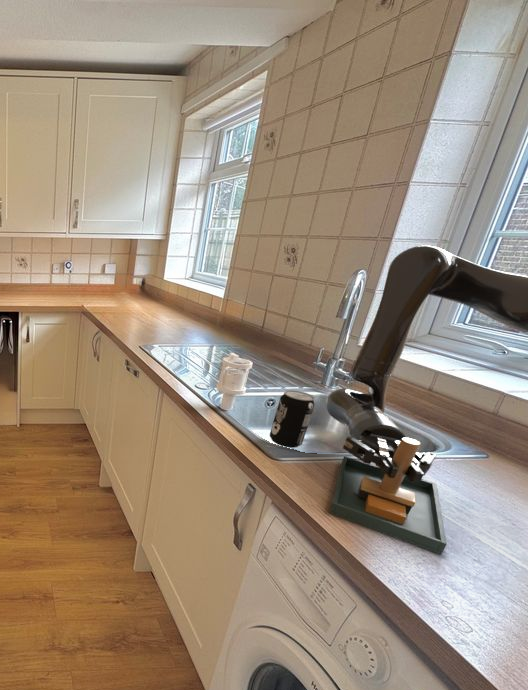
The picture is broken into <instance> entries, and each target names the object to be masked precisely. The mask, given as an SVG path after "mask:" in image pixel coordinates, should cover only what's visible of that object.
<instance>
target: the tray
mask: <svg viewBox="0 0 528 690" xmlns="http://www.w3.org/2000/svg"><path fill="white" fill-rule="evenodd" d="M384 475H385V473H383V472H382V470H381V469H380V468H379V467H377V466H376V464H373V463H371V464H368V463H365V462H363V461H361V460H360V459H356V458H352V457H349V456H345V455H344V456H343V457H342V460H341V463H340V466H339V470H338V474H337V478H336V483H335V486H334V490H333V495H332V499H331V503H330V507H329V511H328V513H329V514H331V515H333V516H336V517H339V518H341V519H344V520H347V521H349V522H352V523H355V524H358V525H361V526H363V527H366V528H368V529H371V530H373V531H375V532H376V531H377V532H379V533H382V534H384V535H386V536H389V537H392V538H395V539H398V540H400V541H403V542H405V543H409V544H411V545H414V546H416V547H418V548H422V549H424V550H427V551H430V552H432V553H435V554H437V555H440V556H441V555H442V554H443V553H444V550H445V548H446V547H447V545H448V544H447V538H446V533H445V527H444V521H443V516H442V509H441V503H440V497H439V492H438V486H437V483H435V482H432V481H429V480H425V479H423V478H422V479H421V481H418V483H412V482H410V480H409V479H408V478H407V476H406V475H405V477H404V479H403V481H402V483H401V485H400V487H399V488H401V489H404V490H407V491H410V492H413V493H415V505H414V507H412V508H411V510H410V512H409V514H406V517H407V518H406V520H405V522H404V524H400V523H397V522H394V521H391V520H388V519H386V518H383V517H380V516H377V515H374V514H371V513H368V512H366V511H365V508H366V500H365V499H362V498H359V497H358V490H359V487H360V485H361V480H362V478H363V477H366V478H370V479H373V480H376V481H379V482H382V480H383V478H384Z"/></svg>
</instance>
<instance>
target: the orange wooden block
mask: <svg viewBox="0 0 528 690" xmlns="http://www.w3.org/2000/svg"><path fill="white" fill-rule="evenodd" d="M365 511H366V512H368V513H371V514H374V515H377V516H380V517H383V518H386V519H388V520H391V521H394V522H397V523H400V524H404V522H405V520H406V518H407V517H406V508H405V506H403V505H400V504H397V503H394V502H391V501H387V500H384V499H381V498H378V497H375V496H372V495H368V497H367V499H366V508H365Z"/></svg>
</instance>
